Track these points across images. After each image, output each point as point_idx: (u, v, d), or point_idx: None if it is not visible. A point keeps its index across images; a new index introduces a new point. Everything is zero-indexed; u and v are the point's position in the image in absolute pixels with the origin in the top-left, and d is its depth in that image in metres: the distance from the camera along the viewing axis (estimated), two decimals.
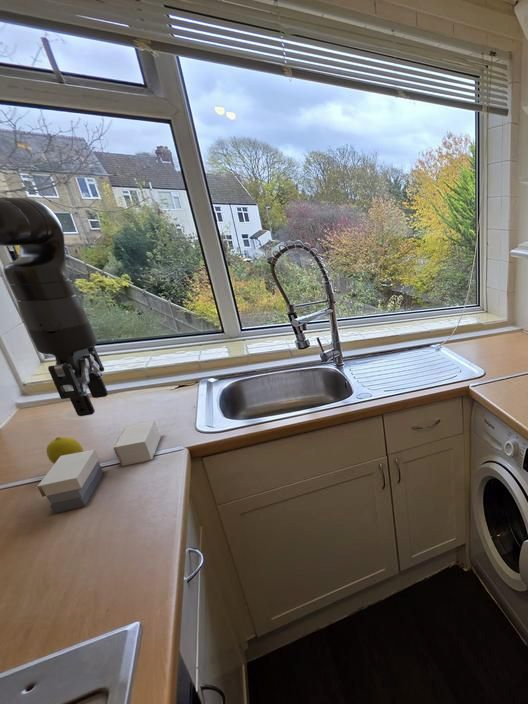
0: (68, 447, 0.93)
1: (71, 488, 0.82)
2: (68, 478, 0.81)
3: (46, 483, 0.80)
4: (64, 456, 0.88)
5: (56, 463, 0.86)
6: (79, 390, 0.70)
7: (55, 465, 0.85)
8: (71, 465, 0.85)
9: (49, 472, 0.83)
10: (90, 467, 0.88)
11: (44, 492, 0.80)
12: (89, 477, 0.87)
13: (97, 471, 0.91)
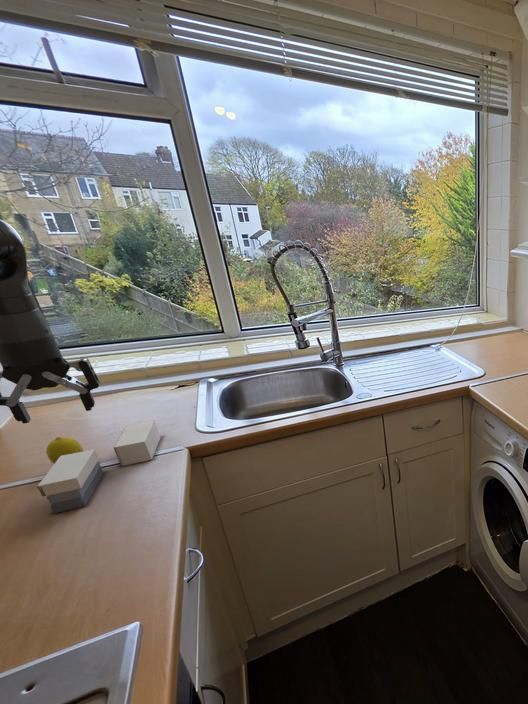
0: (68, 447, 0.93)
1: (71, 488, 0.82)
2: (68, 478, 0.81)
3: (46, 483, 0.80)
4: (64, 456, 0.88)
5: (56, 463, 0.86)
6: None
7: (55, 465, 0.85)
8: (71, 465, 0.85)
9: (49, 472, 0.83)
10: (90, 467, 0.88)
11: (44, 492, 0.80)
12: (89, 477, 0.87)
13: (97, 471, 0.91)
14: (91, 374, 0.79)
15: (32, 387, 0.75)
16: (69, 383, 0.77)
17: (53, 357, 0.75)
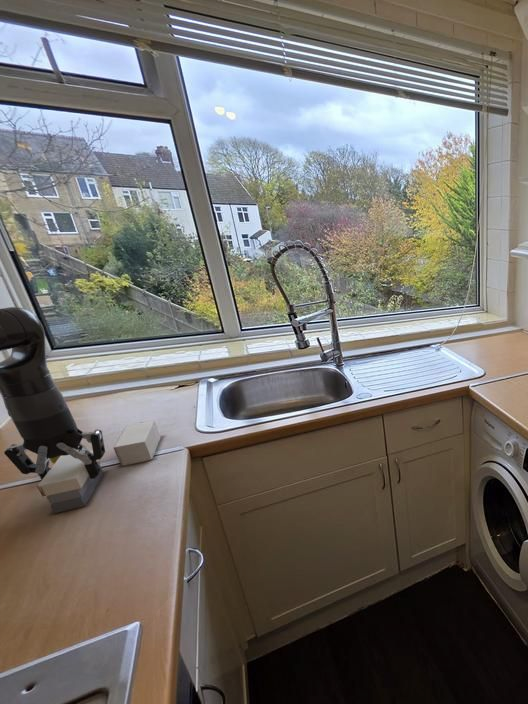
0: None
1: (71, 488, 0.82)
2: (68, 478, 0.81)
3: (46, 483, 0.80)
4: (64, 456, 0.88)
5: (56, 463, 0.86)
6: (23, 469, 0.81)
7: (55, 465, 0.85)
8: (71, 465, 0.85)
9: (49, 472, 0.83)
10: None
11: (44, 492, 0.80)
12: (89, 477, 0.87)
13: None
14: (98, 447, 0.85)
15: (49, 455, 0.82)
16: (77, 454, 0.84)
17: (66, 430, 0.81)
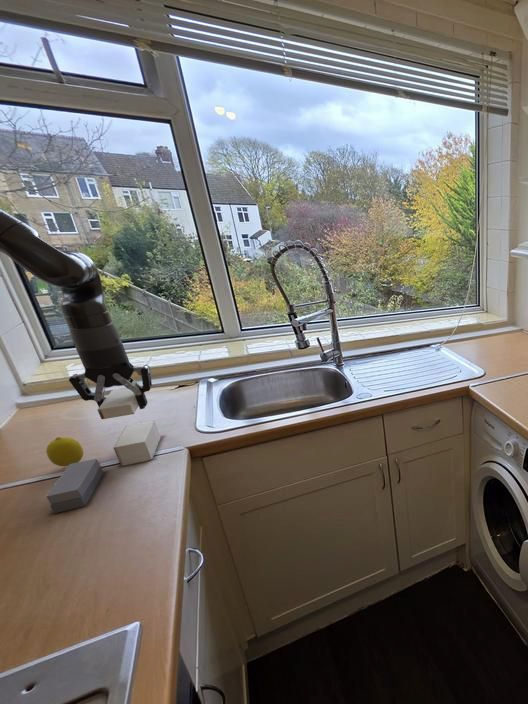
0: (68, 447, 0.93)
1: (125, 413, 0.93)
2: (123, 404, 0.93)
3: (105, 407, 0.91)
4: (115, 390, 1.00)
5: (110, 394, 0.97)
6: (84, 396, 0.92)
7: (109, 396, 0.97)
8: (123, 396, 0.97)
9: (105, 400, 0.94)
10: None
11: (103, 415, 0.91)
12: (89, 477, 0.87)
13: (97, 471, 0.91)
14: (147, 379, 0.97)
15: (105, 385, 0.93)
16: (130, 385, 0.95)
17: (121, 362, 0.93)
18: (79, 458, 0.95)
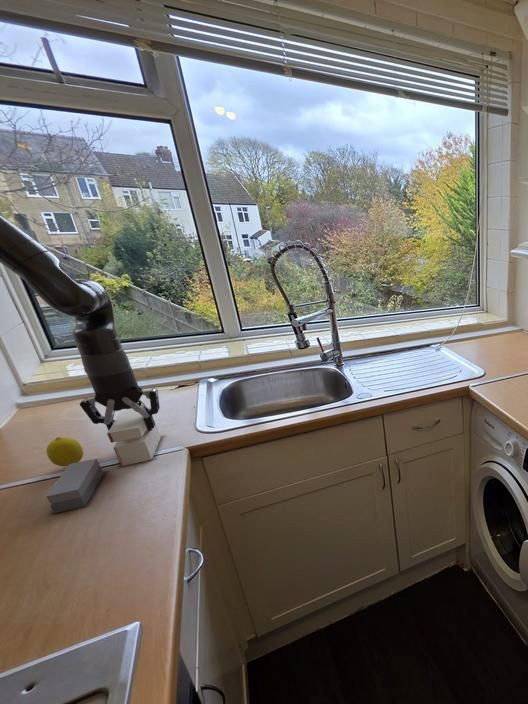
0: (68, 447, 0.93)
1: (134, 436, 0.95)
2: (132, 427, 0.95)
3: (114, 431, 0.93)
4: (124, 412, 1.02)
5: (119, 417, 0.99)
6: (94, 419, 0.94)
7: (118, 418, 0.99)
8: (132, 418, 0.99)
9: (114, 423, 0.97)
10: None
11: (112, 438, 0.94)
12: (89, 477, 0.87)
13: (97, 471, 0.91)
14: (155, 402, 0.99)
15: (115, 408, 0.96)
16: (138, 408, 0.97)
17: (130, 386, 0.95)
18: (79, 458, 0.95)
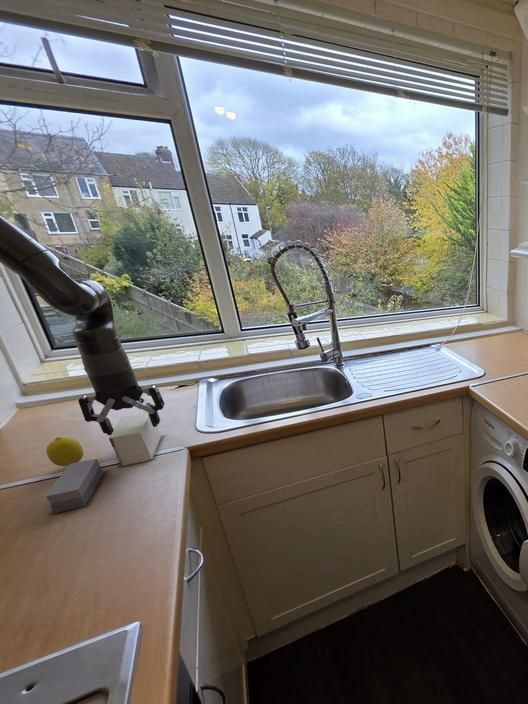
0: (68, 447, 0.93)
1: (136, 441, 0.96)
2: (133, 432, 0.96)
3: (116, 436, 0.94)
4: (126, 416, 1.02)
5: (120, 421, 1.00)
6: (87, 417, 0.94)
7: (120, 423, 0.99)
8: (133, 423, 0.99)
9: (116, 428, 0.97)
10: (148, 426, 1.02)
11: (114, 443, 0.94)
12: (89, 477, 0.87)
13: (97, 471, 0.91)
14: (157, 398, 0.99)
15: (115, 408, 0.96)
16: (141, 405, 0.98)
17: (130, 385, 0.95)
18: (79, 458, 0.95)
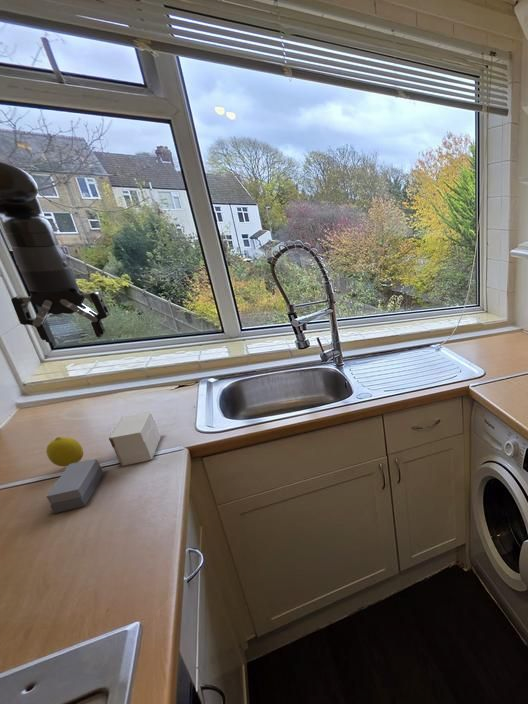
0: (68, 447, 0.93)
1: (136, 441, 0.96)
2: (133, 432, 0.96)
3: (116, 436, 0.94)
4: (126, 416, 1.02)
5: (120, 421, 1.00)
6: (22, 320, 0.88)
7: (120, 423, 0.99)
8: (133, 423, 0.99)
9: (116, 428, 0.97)
10: (148, 426, 1.02)
11: (114, 443, 0.94)
12: (89, 477, 0.87)
13: (97, 471, 0.91)
14: (100, 305, 0.94)
15: (53, 312, 0.91)
16: (82, 311, 0.92)
17: (68, 287, 0.90)
18: (79, 458, 0.95)
